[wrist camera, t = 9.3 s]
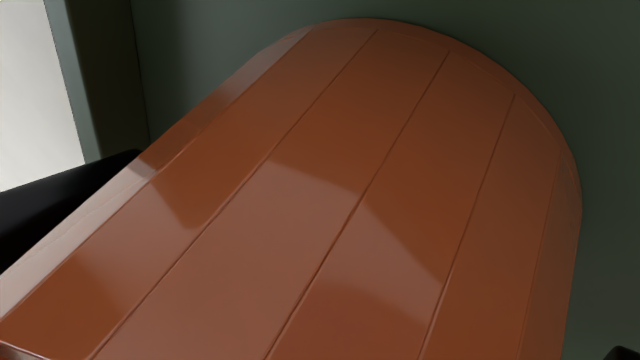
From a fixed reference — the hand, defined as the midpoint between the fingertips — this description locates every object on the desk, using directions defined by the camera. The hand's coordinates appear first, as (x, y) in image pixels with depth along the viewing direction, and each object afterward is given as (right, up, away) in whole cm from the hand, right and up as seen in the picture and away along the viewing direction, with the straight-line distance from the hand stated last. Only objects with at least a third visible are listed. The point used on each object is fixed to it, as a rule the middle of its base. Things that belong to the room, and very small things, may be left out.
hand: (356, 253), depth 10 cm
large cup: (+1, +1, +1) cm, 2 cm away
